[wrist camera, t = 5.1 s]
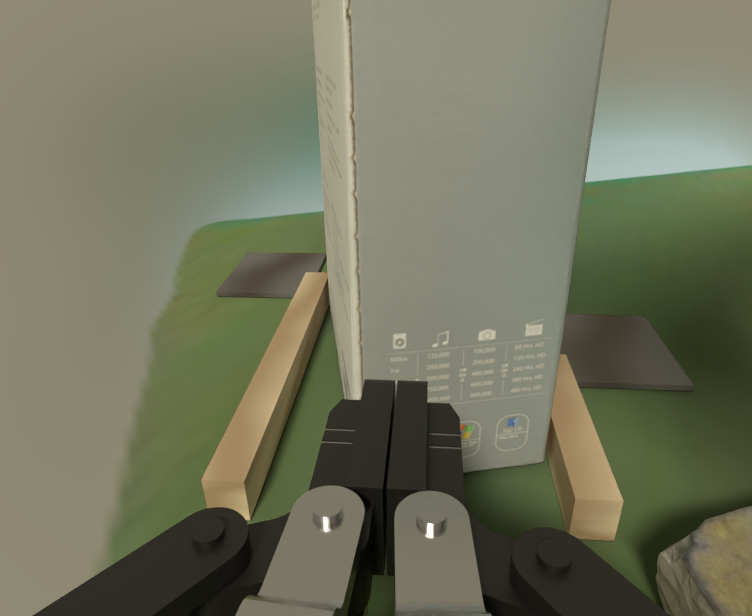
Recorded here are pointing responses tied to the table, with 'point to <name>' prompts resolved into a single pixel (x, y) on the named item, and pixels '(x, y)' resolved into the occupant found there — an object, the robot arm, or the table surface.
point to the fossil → (709, 569)
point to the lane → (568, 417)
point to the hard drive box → (457, 200)
